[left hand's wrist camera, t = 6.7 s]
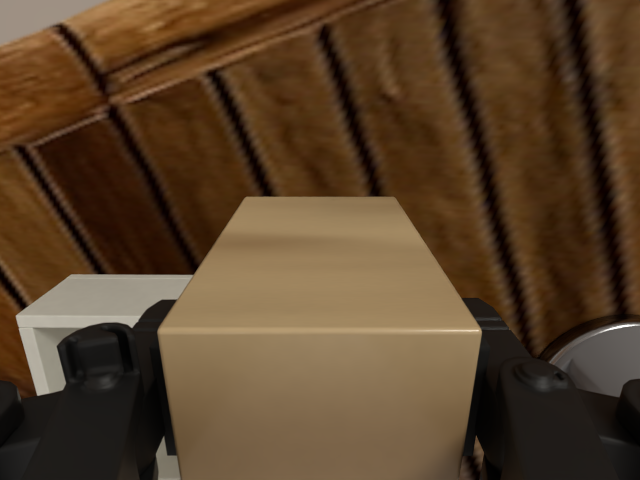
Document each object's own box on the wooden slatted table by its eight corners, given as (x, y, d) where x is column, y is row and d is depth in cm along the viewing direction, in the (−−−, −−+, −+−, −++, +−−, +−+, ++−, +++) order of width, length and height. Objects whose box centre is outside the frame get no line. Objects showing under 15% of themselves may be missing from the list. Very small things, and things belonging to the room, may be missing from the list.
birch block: (387, 327, 16) (449, 552, 8) (252, 326, 16) (190, 552, 8) (395, 196, 14) (484, 330, 6) (244, 196, 14) (154, 330, 6)
